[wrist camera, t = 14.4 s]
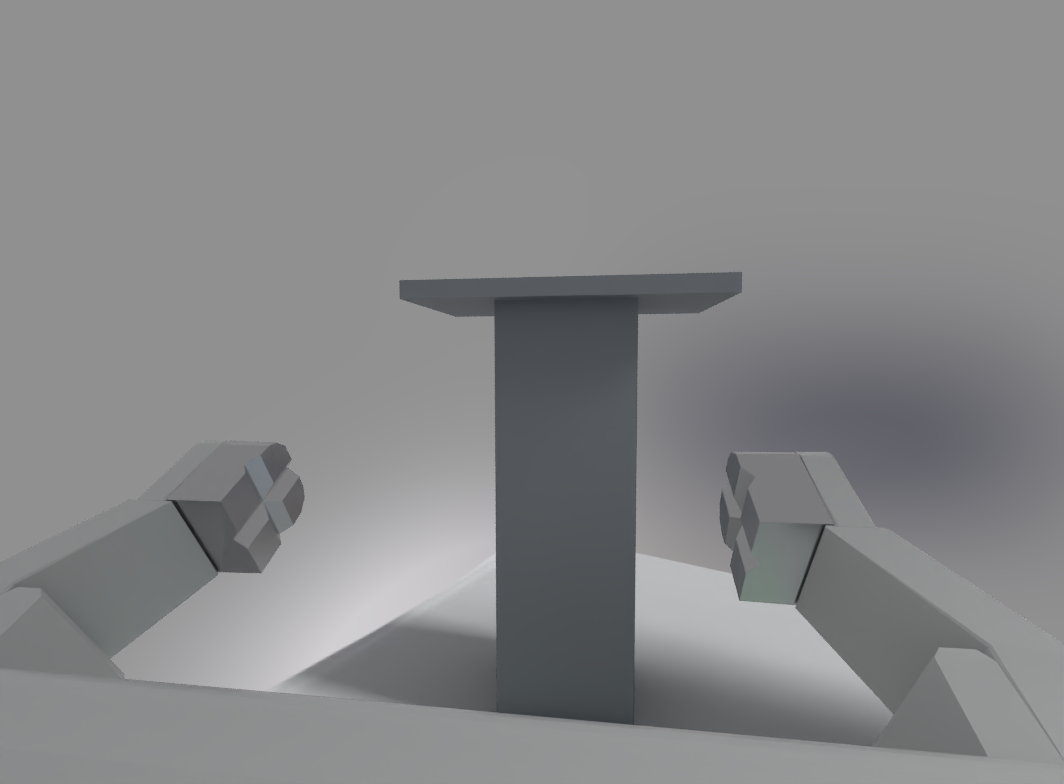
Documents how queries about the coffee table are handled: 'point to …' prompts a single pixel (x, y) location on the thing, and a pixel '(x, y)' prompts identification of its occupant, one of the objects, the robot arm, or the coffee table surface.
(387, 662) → the coffee table surface
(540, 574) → the stand
